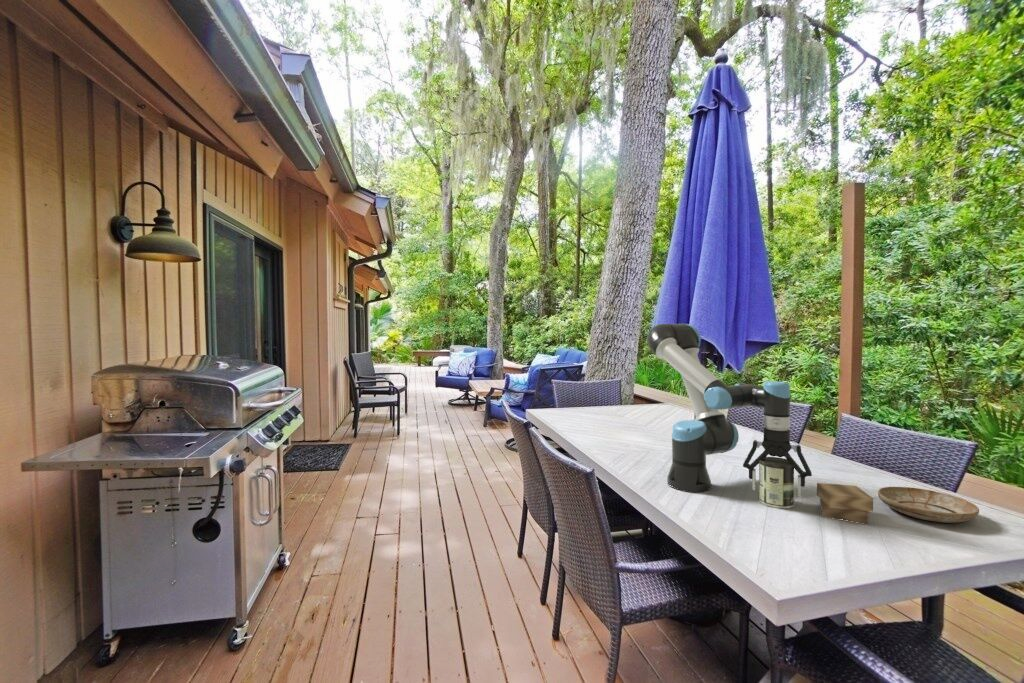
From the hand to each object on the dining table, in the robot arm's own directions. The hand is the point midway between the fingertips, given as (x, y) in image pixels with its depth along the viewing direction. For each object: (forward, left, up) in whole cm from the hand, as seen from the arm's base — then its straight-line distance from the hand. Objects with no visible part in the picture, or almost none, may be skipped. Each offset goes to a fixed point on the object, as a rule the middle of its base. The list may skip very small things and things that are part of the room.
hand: (776, 492), depth 150 cm
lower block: (+18, 0, -4) cm, 18 cm away
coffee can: (0, 0, -4) cm, 4 cm away
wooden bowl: (+40, +13, -4) cm, 42 cm away
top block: (+18, 0, 0) cm, 18 cm away
